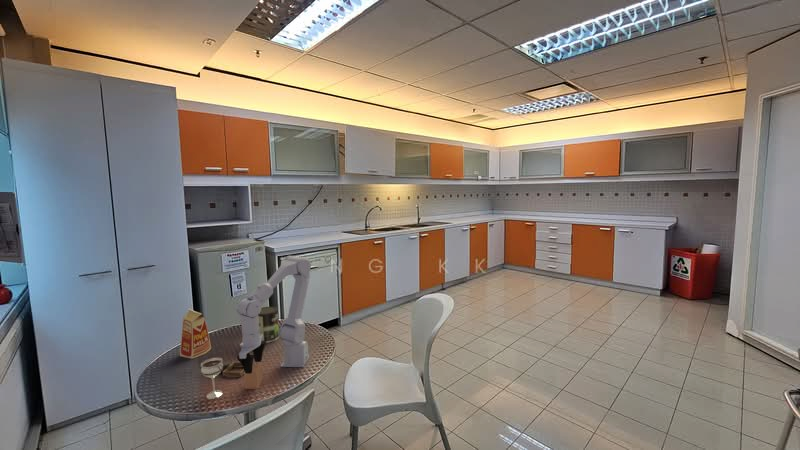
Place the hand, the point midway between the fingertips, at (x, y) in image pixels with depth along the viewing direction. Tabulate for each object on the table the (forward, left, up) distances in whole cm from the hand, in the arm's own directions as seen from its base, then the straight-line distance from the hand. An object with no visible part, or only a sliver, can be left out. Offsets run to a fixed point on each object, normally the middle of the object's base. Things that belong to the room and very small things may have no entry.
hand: (253, 367), depth 123 cm
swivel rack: (+15, -9, -7) cm, 19 cm away
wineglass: (+12, +6, -7) cm, 15 cm away
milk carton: (+37, -24, -7) cm, 45 cm away
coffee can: (+11, -38, -7) cm, 40 cm away
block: (0, 0, -7) cm, 7 cm away
